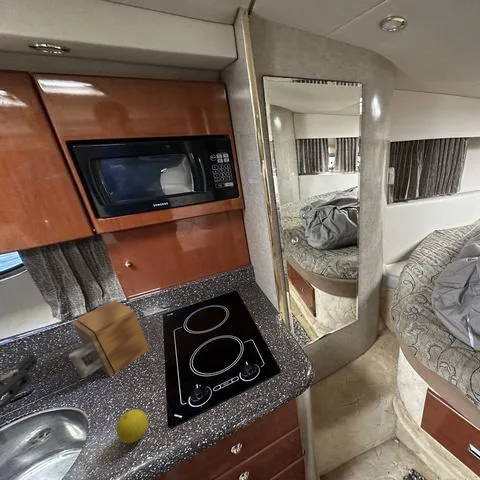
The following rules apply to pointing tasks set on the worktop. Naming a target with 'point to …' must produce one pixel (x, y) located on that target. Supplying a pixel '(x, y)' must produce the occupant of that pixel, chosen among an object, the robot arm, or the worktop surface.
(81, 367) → the cupboard door
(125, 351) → the cupboard
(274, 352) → the worktop surface
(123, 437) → the lemon
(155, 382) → the worktop surface
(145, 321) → the worktop surface
